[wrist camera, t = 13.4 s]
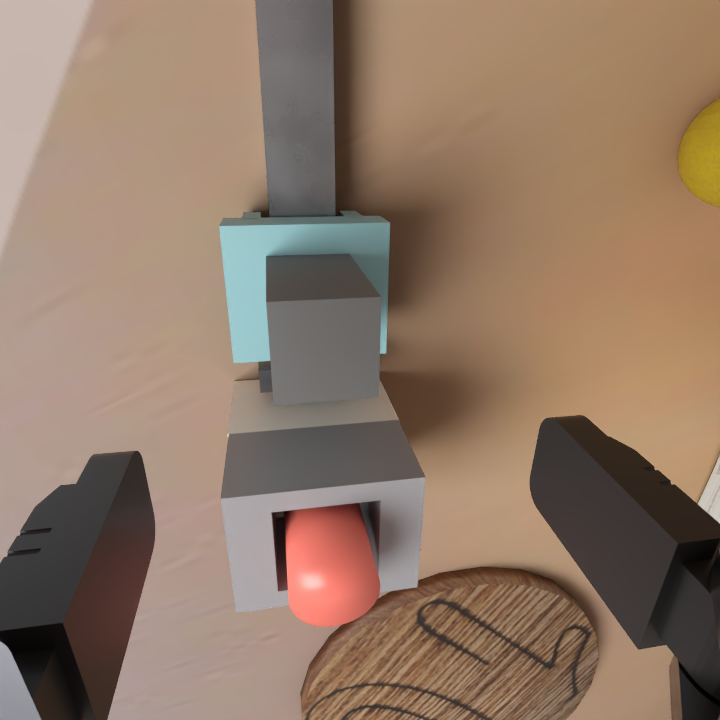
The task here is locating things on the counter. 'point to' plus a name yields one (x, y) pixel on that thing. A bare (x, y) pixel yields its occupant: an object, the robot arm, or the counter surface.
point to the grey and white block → (316, 486)
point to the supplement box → (712, 494)
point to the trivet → (458, 653)
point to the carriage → (309, 301)
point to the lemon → (702, 155)
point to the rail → (297, 112)
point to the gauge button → (329, 564)
